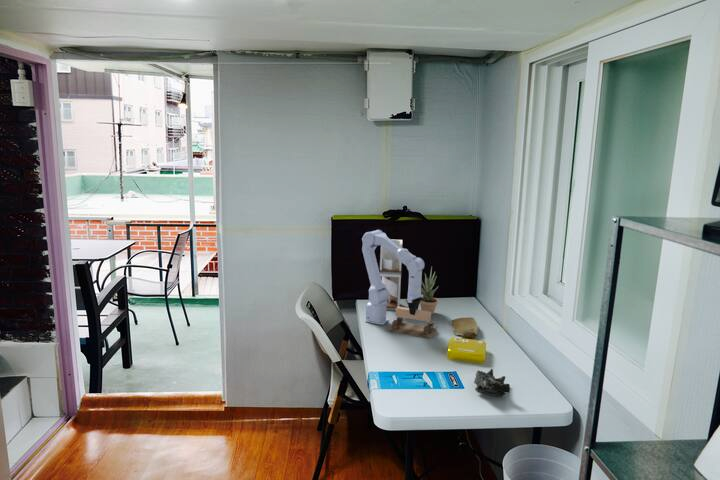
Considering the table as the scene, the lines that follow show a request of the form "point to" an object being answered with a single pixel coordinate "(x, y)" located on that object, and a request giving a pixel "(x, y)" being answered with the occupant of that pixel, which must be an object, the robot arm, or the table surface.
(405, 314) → the clay strip
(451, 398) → the table surface
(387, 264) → the display case
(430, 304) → the potted plant
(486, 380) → the mineral specimen
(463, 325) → the stone tool
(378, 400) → the table surface
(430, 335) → the strip rack
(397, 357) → the table surface
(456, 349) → the element tile
